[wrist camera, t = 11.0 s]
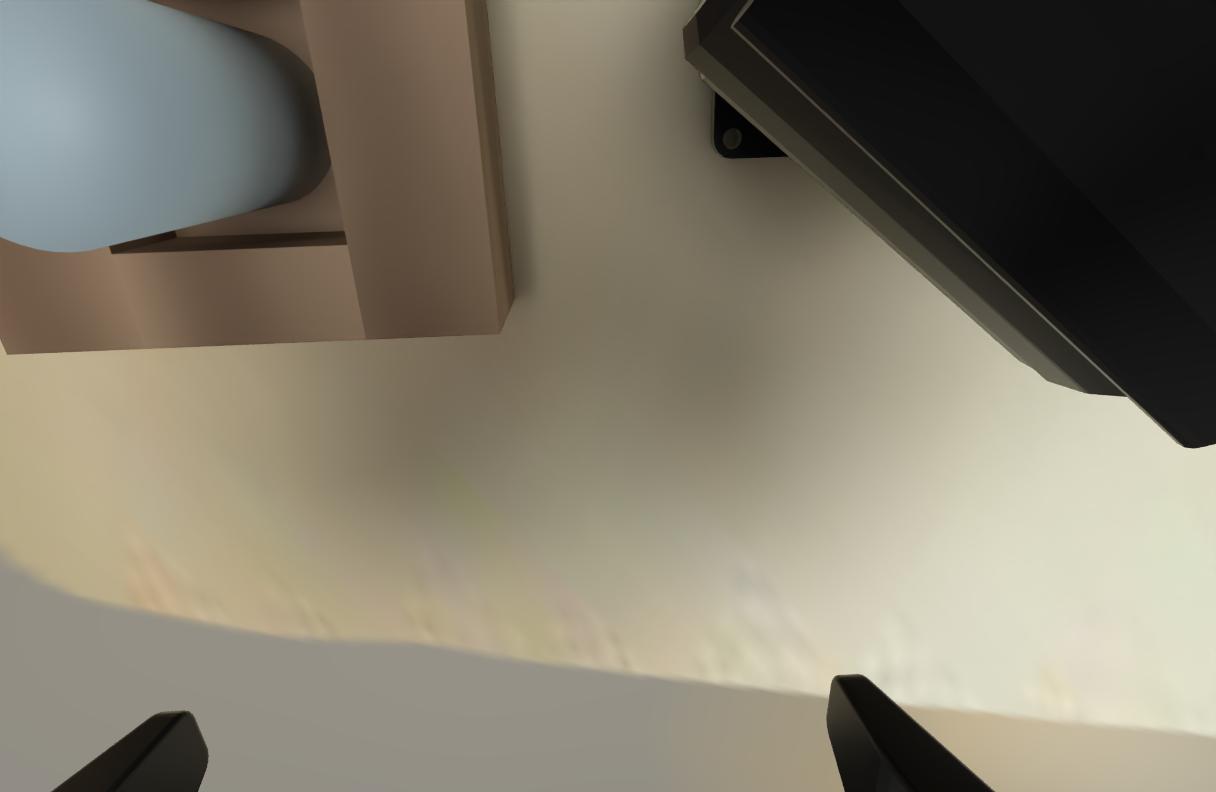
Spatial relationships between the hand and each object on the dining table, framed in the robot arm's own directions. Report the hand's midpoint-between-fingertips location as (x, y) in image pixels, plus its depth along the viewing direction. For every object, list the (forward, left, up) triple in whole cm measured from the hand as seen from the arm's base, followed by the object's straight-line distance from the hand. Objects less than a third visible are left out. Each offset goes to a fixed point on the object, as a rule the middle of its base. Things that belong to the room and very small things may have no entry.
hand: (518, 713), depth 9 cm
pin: (+7, -8, -11) cm, 15 cm away
